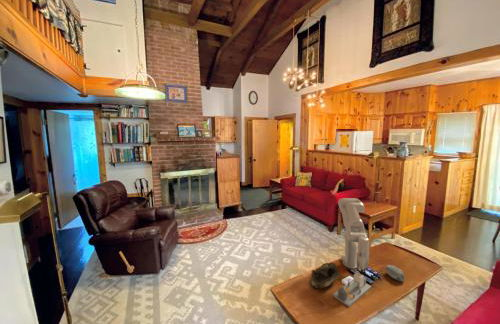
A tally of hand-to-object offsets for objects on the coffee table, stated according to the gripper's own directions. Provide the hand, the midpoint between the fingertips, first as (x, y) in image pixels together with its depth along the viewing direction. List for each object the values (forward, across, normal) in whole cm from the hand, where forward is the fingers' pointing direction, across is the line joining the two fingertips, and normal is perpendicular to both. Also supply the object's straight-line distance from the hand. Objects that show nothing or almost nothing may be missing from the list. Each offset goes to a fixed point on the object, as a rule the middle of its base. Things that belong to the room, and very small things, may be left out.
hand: (362, 275), depth 155 cm
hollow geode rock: (+8, +22, -18) cm, 29 cm away
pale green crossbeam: (+4, +13, 0) cm, 14 cm away
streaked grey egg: (+8, -29, +11) cm, 32 cm away
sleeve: (+5, +5, 0) cm, 7 cm away
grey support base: (+8, +13, 0) cm, 15 cm away
